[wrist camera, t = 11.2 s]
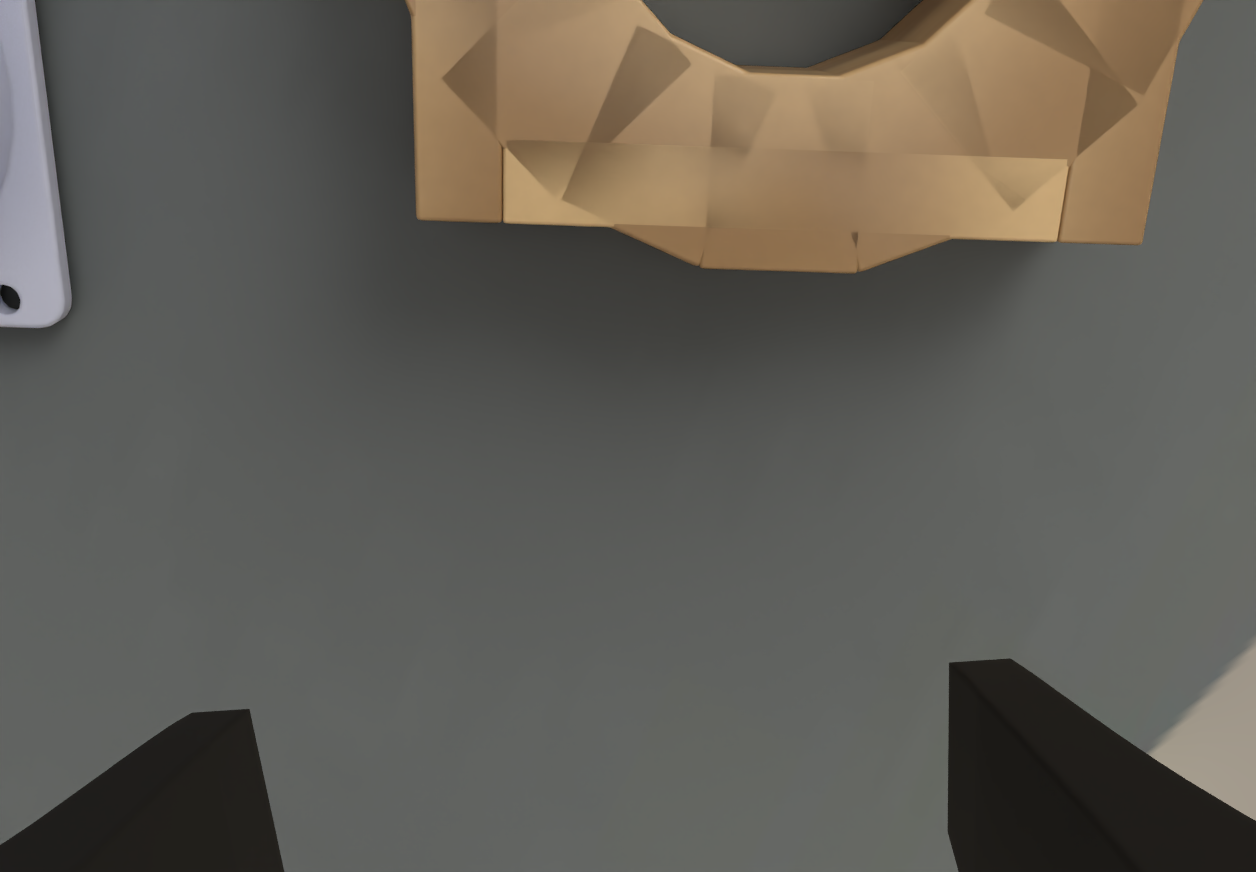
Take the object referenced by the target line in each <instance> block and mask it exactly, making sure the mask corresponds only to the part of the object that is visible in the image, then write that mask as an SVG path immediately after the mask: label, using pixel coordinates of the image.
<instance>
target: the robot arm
mask: <svg viewBox="0 0 1256 872" xmlns="http://www.w3.org/2000/svg"><path fill="white" fill-rule="evenodd" d="M2 285H7V286H10V287H12V288H13V289H14V290H15V291H16V292H17V293H18V295H19V298H20V308H19V309H14V308H11V307H9V306H8V305H7V304H6V303H4V302H3V299H2V297H1V295H0V327H22V328H42V327H49V326H51V325H53V324H55V323H57V322H58V321H60V320H61V319H63V318H64V317H66V316H67V314H68V312H69V310H70V309H71V303H72V293H71V285H70V277H69V269H68V261H67V253H66V245H65V237H64V229H63V221H62V213H61V205H60V197H59V189H58V181H57V173H56V165H55V157H54V149H53V141H52V133H51V125H50V117H49V109H48V101H47V93H46V85H45V77H44V69H43V61H42V53H41V45H40V37H39V29H38V21H37V13H36V5H35V0H0V293H1V286H2ZM948 834H949V838H950V842H951V845H952V849H953V853H954V856H955V860H956V864H957V867H958V871H959V872H1256V821H1255V820H1253V819H1251V818H1250V817H1248V816H1246V815H1244V814H1243V813H1241V812H1239V811H1238V810H1236V809H1234V808H1233V807H1231V806H1229V805H1228V804H1226V803H1224V802H1223V801H1221V800H1219V799H1218V798H1216V797H1214V796H1212V795H1211V794H1209V793H1208V792H1206V791H1204V790H1203V789H1201V788H1199V787H1198V786H1196V785H1194V784H1193V783H1191V782H1189V781H1188V780H1186V779H1185V778H1183V777H1182V776H1180V775H1178V774H1177V773H1175V772H1174V771H1172V770H1170V769H1169V768H1168V767H1166V766H1164V765H1163V764H1161V763H1160V762H1158V761H1157V760H1155V759H1154V758H1152V757H1151V756H1149V755H1148V754H1146V753H1145V752H1143V751H1142V750H1140V749H1139V748H1137V747H1136V746H1134V745H1133V744H1131V743H1130V742H1128V741H1127V740H1126V739H1124V738H1123V737H1121V736H1120V735H1118V734H1117V733H1115V732H1114V731H1113V730H1111V729H1110V728H1108V727H1107V726H1105V725H1104V724H1103V723H1101V722H1100V721H1098V720H1097V719H1095V718H1094V717H1093V716H1091V715H1090V714H1088V713H1087V712H1086V711H1084V710H1083V709H1081V708H1080V707H1079V706H1077V705H1076V704H1074V703H1073V702H1072V701H1070V700H1069V699H1068V698H1066V697H1065V696H1063V695H1062V694H1061V693H1059V692H1058V691H1056V690H1055V689H1054V688H1052V687H1051V686H1049V685H1048V684H1047V683H1045V682H1044V681H1043V680H1041V679H1040V678H1038V677H1037V676H1035V675H1034V674H1033V673H1031V672H1030V671H1028V670H1027V669H1025V668H1024V667H1022V666H1021V665H1019V664H1018V663H1016V662H1015V661H1013V660H1012V659H997V660H982V661H967V662H952V663H949V753H948ZM0 872H284V869H283V864H282V859H281V855H280V850H279V845H278V841H277V836H276V831H275V827H274V822H273V817H272V813H271V808H270V803H269V799H268V794H267V789H266V785H265V780H264V775H263V771H262V766H261V761H260V757H259V752H258V747H257V743H256V738H255V733H254V729H253V724H252V719H251V715H250V710H249V709H242V710H227V711H212V712H197V713H191V714H189V715H187V716H186V717H184V718H182V719H180V720H179V721H177V722H175V723H174V724H172V725H171V726H169V727H168V728H166V729H164V730H163V731H162V732H160V733H159V734H157V735H156V736H154V737H153V738H151V739H150V740H148V741H147V742H146V743H144V744H143V745H141V746H140V747H138V748H137V749H136V750H134V751H133V752H132V753H130V754H129V755H127V756H126V757H125V758H123V759H122V760H120V761H119V762H118V763H116V764H115V765H113V766H112V767H111V768H109V769H108V770H107V771H105V772H104V773H102V774H101V775H100V776H98V777H97V778H96V779H94V780H93V781H91V782H90V783H89V784H87V785H86V786H84V787H83V788H82V789H80V790H79V791H77V792H76V793H75V794H73V795H72V796H70V797H69V798H68V799H66V800H65V801H63V802H62V803H61V804H59V805H58V806H57V807H55V808H54V809H52V810H51V811H50V812H48V813H47V814H45V815H44V816H43V817H41V818H40V819H38V820H37V821H36V822H34V823H33V824H31V825H30V826H28V827H27V828H25V829H24V830H22V831H21V832H19V833H18V834H16V835H15V836H13V837H12V838H10V839H9V840H7V841H6V842H4V843H3V844H1V845H0Z"/></svg>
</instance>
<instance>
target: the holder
mask: <svg viewBox="0 0 1256 872" xmlns="http://www.w3.org/2000/svg"><path fill="white" fill-rule="evenodd" d="M405 2H406V5H407V7H408V10H409V12H410V15H411V34H412V75H413V116H414V158H415V199H416V216H417V219H419V220H422V221H451V222H480V223H499V222H501V221H502V219H503V221H504V223H507V224H533V225H562V226H591V227H610V228H612V229H615V230H617V231H619V232H621V233H623V234H626V235H628V236H630V237H632V238H634V239H636V240H639V241H641V242H643V243H645V244H647V245H650V246H652V247H654V248H656V249H658V250H661V251H663V252H665V253H667V254H669V255H672V256H674V257H676V258H678V259H680V260H683V261H685V262H687V263H689V264H691V265H694V266H699V265H700V267H701V268H703V269H731V270H761V271H791V272H820V273H850V274H854V273H856V272H857V271H865V270H868V269H870V268H873V267H876V266H879V265H881V264H884V263H887V262H890V261H892V260H895V259H898V258H901V257H903V256H906V255H909V254H912V253H914V252H917V251H920V250H923V249H925V248H928V247H931V246H934V245H937V244H939V243H942V242H945V241H948V240H950V239H969V240H998V241H1028V242H1055V241H1058V242H1061V243H1086V244H1115V245H1140V244H1141V243H1142V241H1143V235H1144V230H1145V224H1146V219H1147V213H1148V208H1149V203H1150V197H1151V192H1152V186H1153V181H1154V175H1155V170H1156V165H1157V159H1158V154H1159V148H1160V143H1161V137H1162V132H1163V126H1164V121H1165V116H1166V110H1167V105H1168V99H1169V94H1170V88H1171V83H1172V78H1173V72H1174V67H1175V61H1176V56H1177V50H1178V45H1179V41H1180V40H1181V38H1182V36H1183V34H1184V33H1185V31H1186V29H1187V28H1188V26H1189V24H1190V22H1191V21H1192V19H1193V17H1194V16H1195V14H1196V12H1197V10H1198V9H1199V7H1200V5H1201V3H1202V2H1203V0H922V1H921V2H920V3H919V4H918V5H917V6H916V7H915V8H914V9H913V10H912V11H911V12H909V13H908V14H907V15H906V16H905V17H904V18H903V19H902V20H901V21H900V22H899V23H898V24H896V25H895V26H894V27H893V28H892V29H891V30H890V31H889V32H888V33H887V34H886V35H885V36H883V37H882V38H881V39H880V40H878V41H876V42H873V43H870V44H868V45H865V46H863V47H860V48H857V49H855V50H852V51H850V52H847V53H844V54H842V55H839V56H837V57H834V58H831V59H829V60H826V61H824V62H821V63H818V64H816V65H813V66H810V67H808V68H800V67H774V66H747V65H734V64H732V63H730V62H728V61H726V60H724V59H722V58H720V57H718V56H716V55H714V54H712V53H710V52H708V51H706V50H703V49H701V48H699V47H697V46H695V45H693V44H691V43H689V42H687V41H685V40H683V39H681V38H679V37H677V36H675V35H673V34H671V33H670V32H669V31H668V30H667V29H666V28H665V26H664V25H663V24H662V23H661V22H660V21H659V20H658V18H657V17H656V16H655V15H654V14H653V13H652V11H651V10H650V9H649V8H648V7H647V6H646V5H645V3H644V2H643V1H642V0H405Z"/></svg>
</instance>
